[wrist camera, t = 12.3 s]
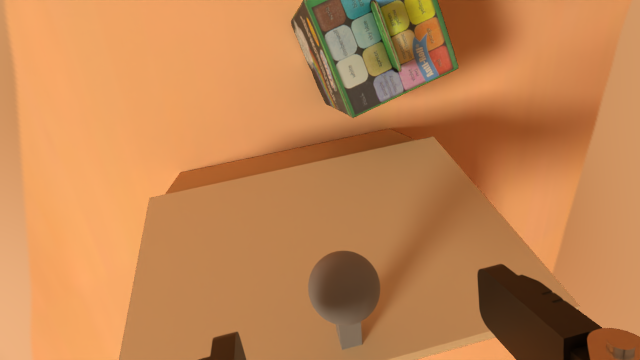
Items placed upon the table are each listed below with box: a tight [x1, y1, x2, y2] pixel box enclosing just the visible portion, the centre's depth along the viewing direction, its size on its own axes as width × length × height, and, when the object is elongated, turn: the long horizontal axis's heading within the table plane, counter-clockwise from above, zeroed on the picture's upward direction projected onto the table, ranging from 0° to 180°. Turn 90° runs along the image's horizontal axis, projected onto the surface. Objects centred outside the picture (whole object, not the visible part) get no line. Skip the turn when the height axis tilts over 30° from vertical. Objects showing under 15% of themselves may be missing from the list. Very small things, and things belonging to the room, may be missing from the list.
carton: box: [166, 129, 415, 194], centre depth 38 cm, size 16×22×10 cm
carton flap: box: [119, 136, 580, 360], centre depth 22 cm, size 16×22×6 cm
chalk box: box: [291, 0, 458, 118], centre depth 31 cm, size 9×9×15 cm
